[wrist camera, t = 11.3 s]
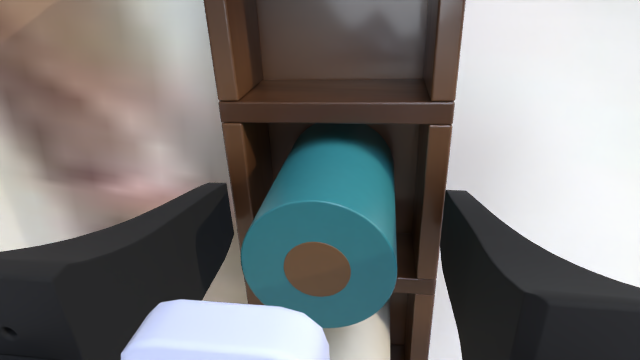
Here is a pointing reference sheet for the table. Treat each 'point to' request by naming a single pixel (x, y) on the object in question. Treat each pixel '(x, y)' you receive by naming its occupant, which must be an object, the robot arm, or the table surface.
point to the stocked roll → (362, 338)
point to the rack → (346, 113)
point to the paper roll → (327, 228)
